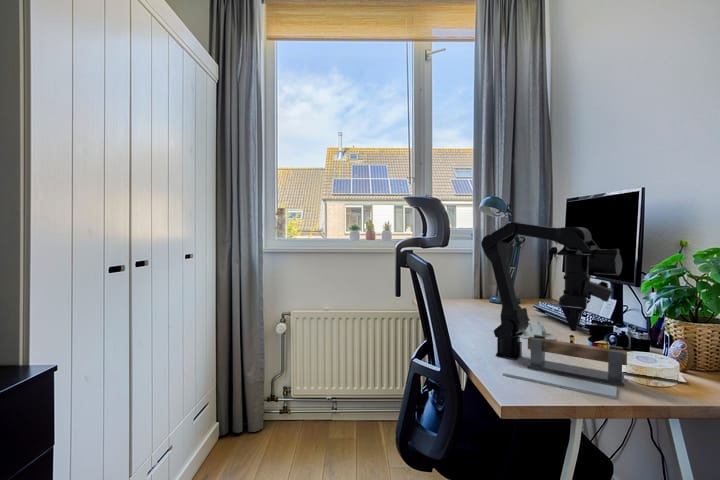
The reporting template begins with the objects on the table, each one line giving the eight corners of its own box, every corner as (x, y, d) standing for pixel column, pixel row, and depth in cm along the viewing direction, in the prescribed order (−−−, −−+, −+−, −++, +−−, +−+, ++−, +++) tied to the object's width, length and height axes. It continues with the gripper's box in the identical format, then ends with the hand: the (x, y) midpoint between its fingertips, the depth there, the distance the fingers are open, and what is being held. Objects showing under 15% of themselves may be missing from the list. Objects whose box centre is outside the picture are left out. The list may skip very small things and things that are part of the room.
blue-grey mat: (502, 375, 105) (502, 372, 105) (509, 367, 111) (509, 365, 111) (616, 399, 90) (616, 396, 90) (616, 389, 96) (616, 386, 96)
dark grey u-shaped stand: (527, 368, 111) (528, 339, 111) (532, 361, 116) (533, 333, 116) (624, 386, 98) (624, 353, 97) (624, 378, 103) (624, 347, 103)
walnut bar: (527, 349, 113) (527, 338, 113) (529, 346, 115) (530, 336, 115) (626, 365, 99) (627, 354, 99) (626, 362, 101) (627, 351, 101)
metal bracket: (507, 316, 155) (547, 318, 152) (506, 329, 156) (545, 331, 153) (513, 335, 141) (557, 337, 138) (512, 348, 143) (555, 351, 140)
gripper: (609, 277, 94) (608, 339, 95) (611, 271, 110) (610, 325, 110) (559, 274, 101) (558, 332, 101) (567, 268, 116) (567, 319, 116)
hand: (575, 327), depth 107 cm, fingers open, 9 cm apart
